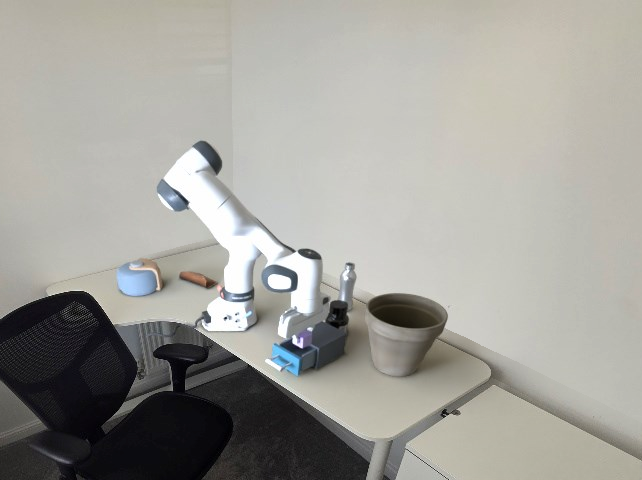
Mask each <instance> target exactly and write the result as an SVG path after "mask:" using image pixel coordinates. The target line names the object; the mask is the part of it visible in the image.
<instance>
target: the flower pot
mask: <svg viewBox="0 0 642 480" xmlns="http://www.w3.org/2000/svg"><path fill="white" fill-rule="evenodd" d="M364 313H365V315H364V322H365V323H366V326H367V331H368V338H369V343H370V344H369V345H370V346H369V347H370V353H371V359H372V360H371V361H372V365H373V366H374V367H375V369H377V371H379V372H381V373H382V374H385V375H387V376H391V377H398V378H399V377H400V378H401V377H407V376H411V375H413V374H415V372H416V370H417V369H418V368H419V366H420V365H421V364H422V362H423V360H424V358H425V357H426V355H428V352H429V351H430V349H431V347H432V346H433V345H434V343H435V341H436V340H437V338H438V337H440V336H441V335H442V334H443V333H444V330H445V327H446V326H447V325H446V324H447V322H448V319H449V314H448V312H447V310H446V308H445V307H444V306H442V305H441V304H440V303H439V302H437V301H434V300H433V299H431V298H428V297H425V296H422V295H417V294H413V293H403V292H391V293H390V292H389V293H383V294H379V295H377V296H374V297H372V298H370V299H369V300H368V301H367V303H366V305H365V312H364Z"/></svg>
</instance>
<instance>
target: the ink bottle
mask: <svg viewBox="0 0 642 480" xmlns="http://www.w3.org/2000/svg"><path fill="white" fill-rule="evenodd" d="M347 310H348V303H347V302H345V301H342V300H338V299H334V300H332V301H330V302H329V313H328V316H327V318H326V320H324V322H325V323H327V324H329V325H331V326H333V327H335V328H337V329H339V330H341V331H343V332H345V333H347V334H348V329H349V322H350V317H349V315H348V311H349V310H348V311H347Z"/></svg>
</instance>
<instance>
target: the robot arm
mask: <svg viewBox="0 0 642 480" xmlns="http://www.w3.org/2000/svg"><path fill="white" fill-rule="evenodd" d="M222 169H223V160H222V157H221V154H220V153H219V151H218V149H217V148H216V147H215V146H214V145H213V144H211V143H210V142H208V141H206V140H198V141H197V142H195V143H194V144H193V145H192V146H191V147H190V149H188V150H187V151H186V152H184V153H183V154H182V155H181V156H180V157H179V158H178V159H177V160H176V162H174V164H173V166H172V167H171V168H170V169H169V170H168V172H167V173H166V174H165V176H164V177H163V178H161V179H160V181H159V182H158V184H157V186H156V193H157V195H158V197H159V199H160V201H161V203H162V204H163V205H164V206H165V207H166V208H167V209H169V210H171V211H174V212H183V211H185V210H187V211H189V210H190V209H191V210H192V211H193V213H195V214H196V216H197V217H198V218H199V219H200V220H201V221H202V223H203V224H204V225H205V226H206V227H207V229H208V230H209V231H210V233H211V234H212V236H213V237H214V238H215V240H216V241H217V243H219V244H220V246H221V247H223V248H224V249H226V250H227V251H228V254H229V258H228V263H227V264H226V265H225V267H224V270H223V273H224V274H223V275H224V277H223V278H224V286H223V285H221V284H219V285H217V291H218V292H219V296H217V298H215V299H213V300H212V301H210V303H209V304H208V306H207V309H206V310H205V311H201V317H199V318H197V319H196V320H195V322H194V325H189V324H185V323H178V324H177V325H175V326H174V328H173V331H172V332H171V333H170V334H163V333H159V332H150V333H148V334H147V335H146V336H145V338H147V339H148V338H150V337H151V336H157V337H161V338H171V337H174V336H175V334H176V333H177V330H178V328H181V327H184V328H189V329H196V328H197V327H198V323H199V322H200V321H201V324H202V326H203V328H204V329H205V330H207V331H209V332H216V331H217V332H222V331H223V332H234V331H235V332H241V331H242V332H243V331H247V329H248V328H250V327H252V326H253V325H254V324H256V323H257V320H258V317H257V314H256V309H255V287H254V269H255V265H256V261H257V259H259V258H260V257H261V256H262V254H263V255H264V256H265V257H266V259H267V263H266V265H265V266H264V268H263V270H262V272H261V275H260V276H261V282H262V284H263V286H264V287H265V289H267V290H268V291H270V292H271V293H276V294H287V293H291V300H290V308H288V309H285V310H284V312H283V313H282V314H281V315H280V318H279V322H278V329H277V334H278V336H280V337H282V338H283V339H285V340H287V339H289V338H290V337H293V343H295V344H297V343H299V342H300V338H298V337H297V335H298V333H300V332H302V331H304V330H306V329H307V331H308V332H310V333H312V331H313V329H314V328H315V325H316V324H318V323H320V322H322V321H323V322H325V320H326V318H327V316H328V313H329V307H330V302H331V295H328V294H327V293H325V292H322V291H321V285H322V283H323V275H324V273H323V272H324V263H323V257H322V255H321V254H320V252H317V251H316V250H314V249H312V248H307V247H306V248H300V249H297V250H295V249H294V248H293V247H291V246H289V245H287V244H285V243H283V242H282V241H281V240H280V239H278V238H277V237H276V236H275V235H274V233H273V232H272V231H270V229H269V228H268V227H266V225H264V223H263V222H262V221H261V220H259V218H258V217H256V216H255V215H254V214H253V213H252V212H250V210H249V209H248V208H247V207H246V206H245V205H244V204H243V203H242V201H240V200H239V198H238V197H237V196H236V195H235V193H233V191H232V190H231V189H230V188H229V187H228V186H227V184H225V183H224V182H223V181H222V180H220V178H219V177H217V176H218V175H219V173H220V172H221V171H222ZM189 207H190V208H189Z"/></svg>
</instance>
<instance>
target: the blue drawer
mask: <svg viewBox="0 0 642 480" xmlns="http://www.w3.org/2000/svg"><path fill="white" fill-rule="evenodd" d="M316 356H317V349H316V348H314V347H312V346H310V345H308V346H306V347H304V348H303V349H302V348H300V347H299V346H297V345H295V344H293V337H291V338H288V339H285V340H282V341H280V342H279V344H278V343H276V342H275V343H272V356H271V357H270V358H269V357H267V358H266V359H265V363H267V364H268V365H270V366H272V367H273V368H274V369H276V370H278V371H279V372H283V371H284V369H285V370H287V371H288V372H290V373H292V374H293V375H295V376H296V377H300V376H301V373H302V372H304V371H306V370H308V369H309V368H311V367H312V366H313V365H315V364H316Z"/></svg>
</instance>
